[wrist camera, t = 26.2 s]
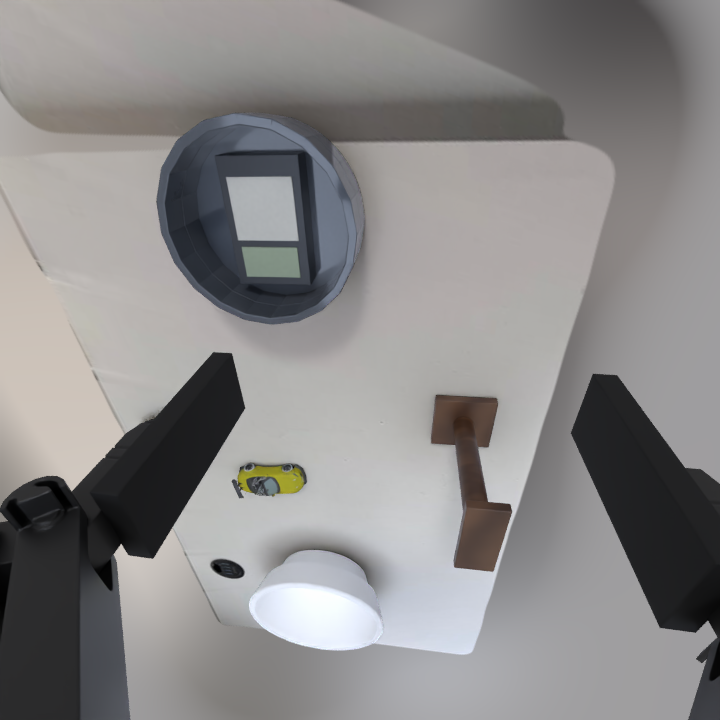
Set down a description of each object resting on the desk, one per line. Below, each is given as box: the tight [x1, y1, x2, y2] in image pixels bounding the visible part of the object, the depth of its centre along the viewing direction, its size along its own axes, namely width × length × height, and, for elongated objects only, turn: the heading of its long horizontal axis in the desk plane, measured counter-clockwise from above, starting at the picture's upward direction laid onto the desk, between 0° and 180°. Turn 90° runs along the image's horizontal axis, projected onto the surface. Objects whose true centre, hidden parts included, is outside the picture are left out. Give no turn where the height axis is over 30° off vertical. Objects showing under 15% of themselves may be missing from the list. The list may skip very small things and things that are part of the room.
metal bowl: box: [156, 113, 365, 324], centre depth 33 cm, size 16×16×6 cm
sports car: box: [232, 463, 307, 498], centre depth 55 cm, size 5×10×3 cm, turn 97°
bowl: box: [249, 550, 384, 650], centre depth 66 cm, size 22×22×8 cm
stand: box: [431, 395, 512, 572], centre depth 40 cm, size 7×9×16 cm
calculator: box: [215, 151, 316, 285], centre depth 34 cm, size 7×11×2 cm, turn 1°
